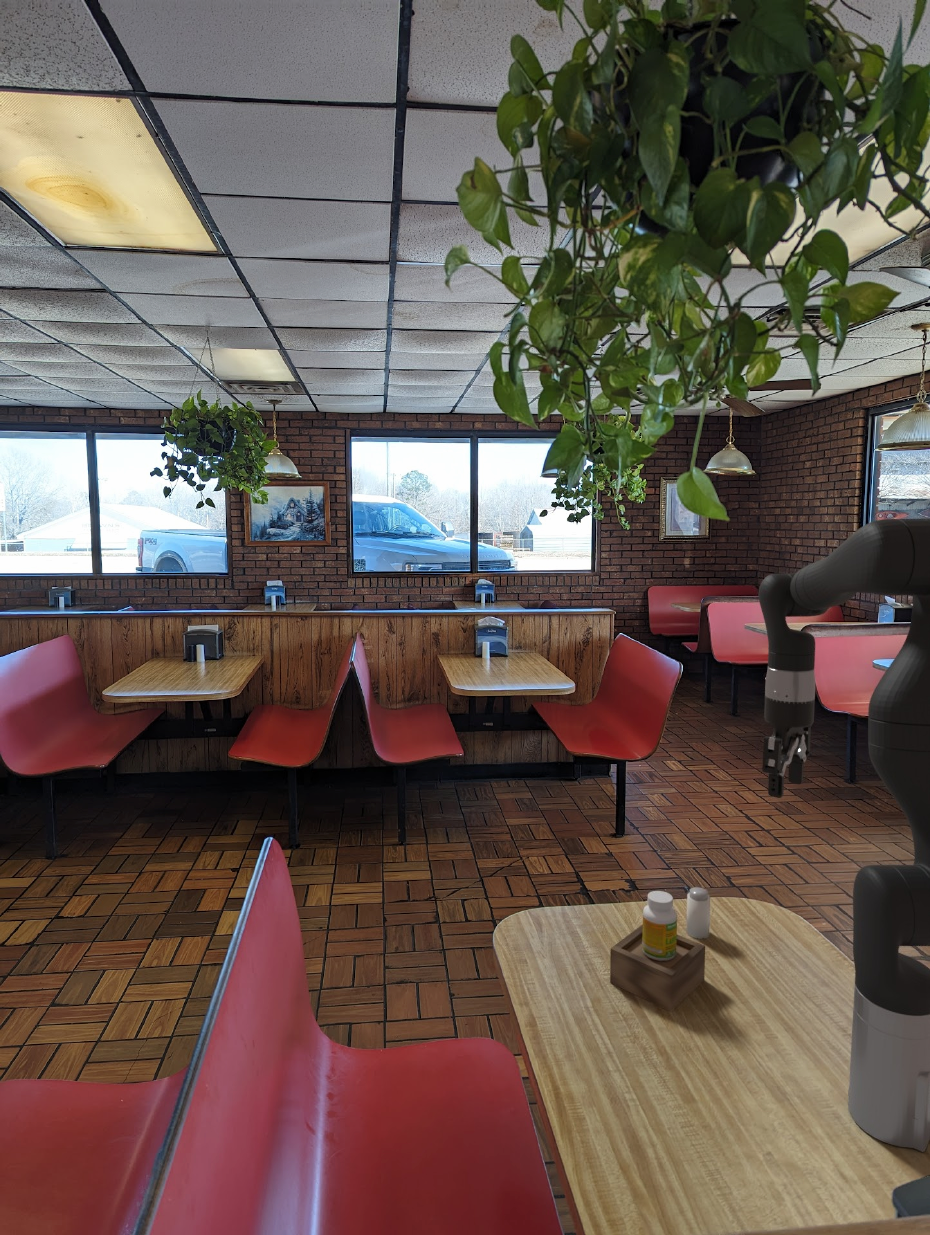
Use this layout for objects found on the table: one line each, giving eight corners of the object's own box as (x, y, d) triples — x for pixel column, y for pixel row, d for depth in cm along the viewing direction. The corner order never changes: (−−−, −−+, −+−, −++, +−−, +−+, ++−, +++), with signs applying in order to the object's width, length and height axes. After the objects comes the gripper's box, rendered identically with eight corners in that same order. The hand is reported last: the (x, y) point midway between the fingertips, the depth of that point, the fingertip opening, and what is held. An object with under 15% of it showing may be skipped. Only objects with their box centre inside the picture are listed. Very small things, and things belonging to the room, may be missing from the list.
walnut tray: (704, 979, 125) (705, 945, 124) (671, 1011, 117) (671, 975, 116) (645, 954, 133) (645, 922, 132) (610, 982, 125) (610, 948, 124)
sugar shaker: (713, 932, 139) (714, 891, 138) (702, 941, 136) (704, 899, 135) (692, 924, 142) (693, 884, 141) (682, 933, 139) (683, 892, 138)
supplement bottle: (669, 966, 121) (670, 908, 119) (636, 955, 124) (638, 898, 122) (680, 950, 125) (682, 894, 124) (649, 940, 128) (650, 885, 127)
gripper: (796, 706, 117) (792, 807, 119) (828, 690, 127) (824, 783, 130) (748, 699, 122) (745, 796, 125) (783, 684, 133) (780, 773, 135)
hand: (785, 789), depth 127 cm, fingers open, 8 cm apart
